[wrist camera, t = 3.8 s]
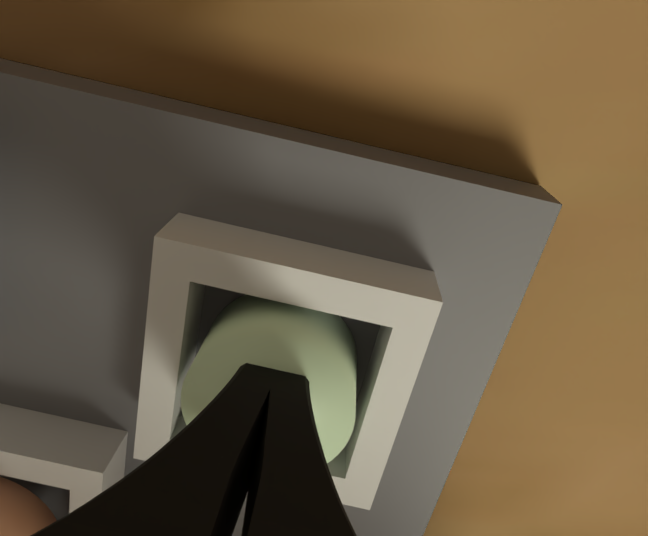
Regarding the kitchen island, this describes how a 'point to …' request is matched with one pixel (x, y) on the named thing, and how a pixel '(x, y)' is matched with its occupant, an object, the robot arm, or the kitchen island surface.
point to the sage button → (281, 361)
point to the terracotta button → (21, 510)
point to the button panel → (239, 283)
